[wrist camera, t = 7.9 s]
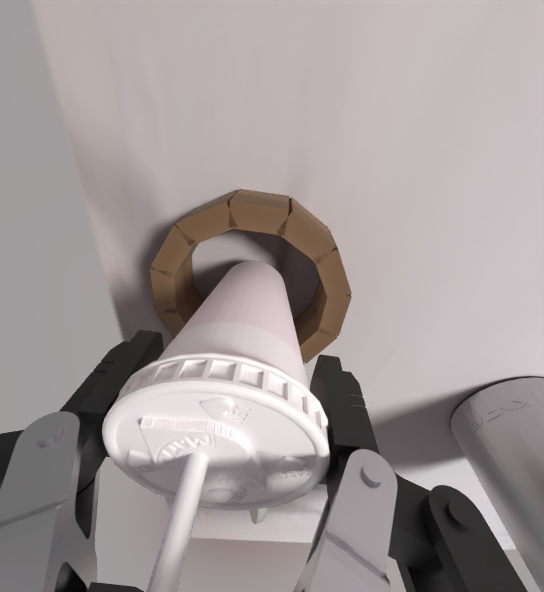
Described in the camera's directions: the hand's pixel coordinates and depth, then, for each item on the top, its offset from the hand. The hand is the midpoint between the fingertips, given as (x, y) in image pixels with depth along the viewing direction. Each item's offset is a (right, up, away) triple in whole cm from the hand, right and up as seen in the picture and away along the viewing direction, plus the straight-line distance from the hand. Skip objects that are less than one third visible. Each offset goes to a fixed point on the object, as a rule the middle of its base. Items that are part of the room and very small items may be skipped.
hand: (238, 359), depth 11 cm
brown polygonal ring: (0, +4, +6) cm, 7 cm away
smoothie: (0, +3, +5) cm, 6 cm away
